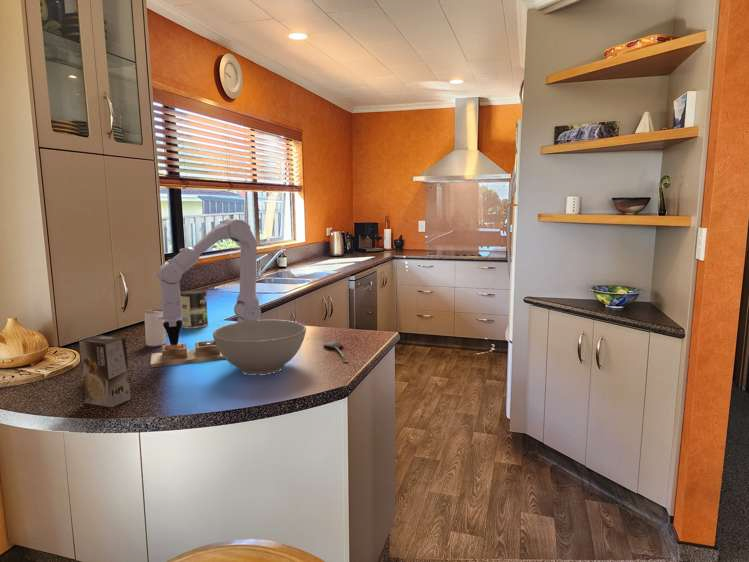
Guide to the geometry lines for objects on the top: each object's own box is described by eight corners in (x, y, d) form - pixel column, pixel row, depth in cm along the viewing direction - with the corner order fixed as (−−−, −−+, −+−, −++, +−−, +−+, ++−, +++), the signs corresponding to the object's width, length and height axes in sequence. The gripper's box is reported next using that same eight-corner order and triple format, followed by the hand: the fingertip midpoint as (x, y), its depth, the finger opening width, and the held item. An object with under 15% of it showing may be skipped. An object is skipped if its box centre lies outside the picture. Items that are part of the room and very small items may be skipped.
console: (228, 348, 177) (227, 337, 176) (232, 358, 166) (231, 345, 165) (151, 356, 168) (151, 344, 168) (150, 367, 157) (149, 354, 156)
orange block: (182, 351, 168) (181, 342, 167) (182, 355, 164) (181, 345, 163) (167, 352, 166) (166, 343, 166) (167, 356, 162) (166, 347, 162)
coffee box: (132, 399, 131) (127, 337, 129) (111, 408, 125) (105, 343, 123) (105, 394, 134) (99, 334, 132) (83, 403, 129) (77, 340, 126)
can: (159, 347, 179) (156, 313, 178) (142, 346, 181) (139, 312, 179) (170, 342, 186) (167, 309, 184) (153, 341, 187) (151, 308, 185)
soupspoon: (340, 347, 182) (322, 349, 180) (340, 337, 181) (321, 339, 180) (355, 362, 161) (334, 365, 159) (354, 352, 160) (334, 354, 159)
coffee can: (211, 322, 216) (209, 289, 214) (203, 328, 206) (201, 293, 204) (187, 322, 216) (185, 289, 214) (177, 328, 206) (175, 293, 204)
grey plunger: (214, 349, 171) (213, 340, 171) (215, 353, 167) (214, 344, 167) (200, 351, 170) (199, 342, 169) (201, 354, 166) (200, 345, 165)
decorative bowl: (210, 362, 161) (208, 324, 160) (294, 352, 172) (293, 316, 170) (221, 390, 137) (218, 345, 135) (318, 376, 147) (317, 334, 146)
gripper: (158, 299, 168) (161, 339, 170) (156, 307, 154) (160, 351, 156) (181, 297, 170) (183, 337, 172) (182, 305, 157) (185, 348, 159)
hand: (174, 344), depth 164 cm, fingers closed
